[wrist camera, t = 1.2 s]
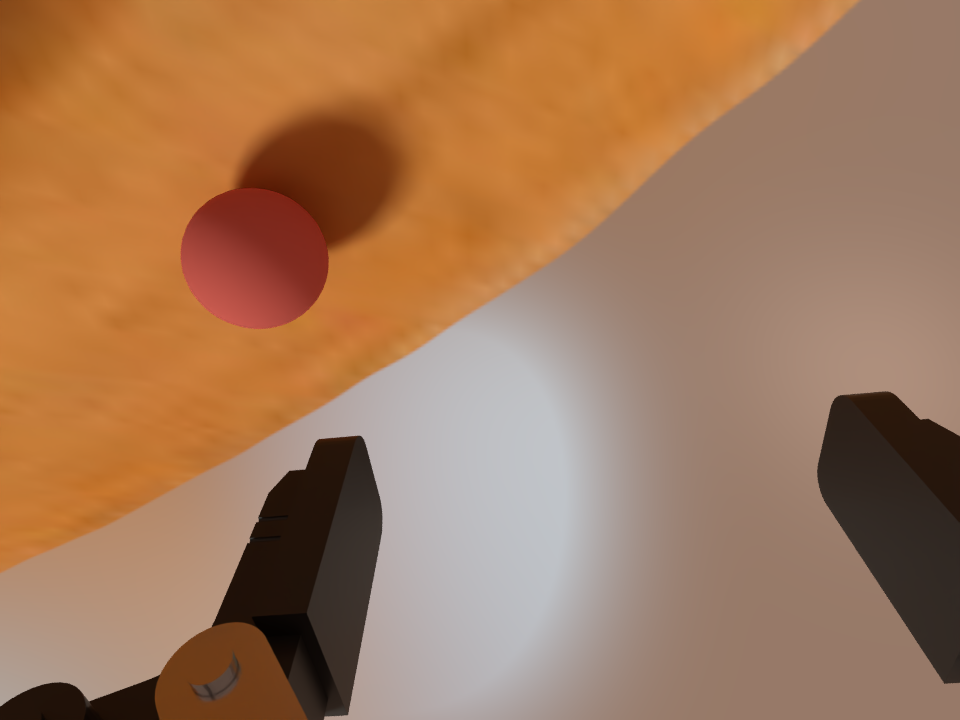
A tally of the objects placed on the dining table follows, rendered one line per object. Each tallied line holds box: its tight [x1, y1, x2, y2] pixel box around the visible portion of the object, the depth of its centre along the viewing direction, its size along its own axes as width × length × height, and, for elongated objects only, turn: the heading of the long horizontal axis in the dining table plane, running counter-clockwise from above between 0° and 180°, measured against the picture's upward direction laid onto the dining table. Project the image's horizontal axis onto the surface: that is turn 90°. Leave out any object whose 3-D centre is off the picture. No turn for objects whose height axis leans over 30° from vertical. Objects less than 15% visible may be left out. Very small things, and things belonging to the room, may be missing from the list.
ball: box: [181, 188, 329, 329], centre depth 27 cm, size 6×6×6 cm
